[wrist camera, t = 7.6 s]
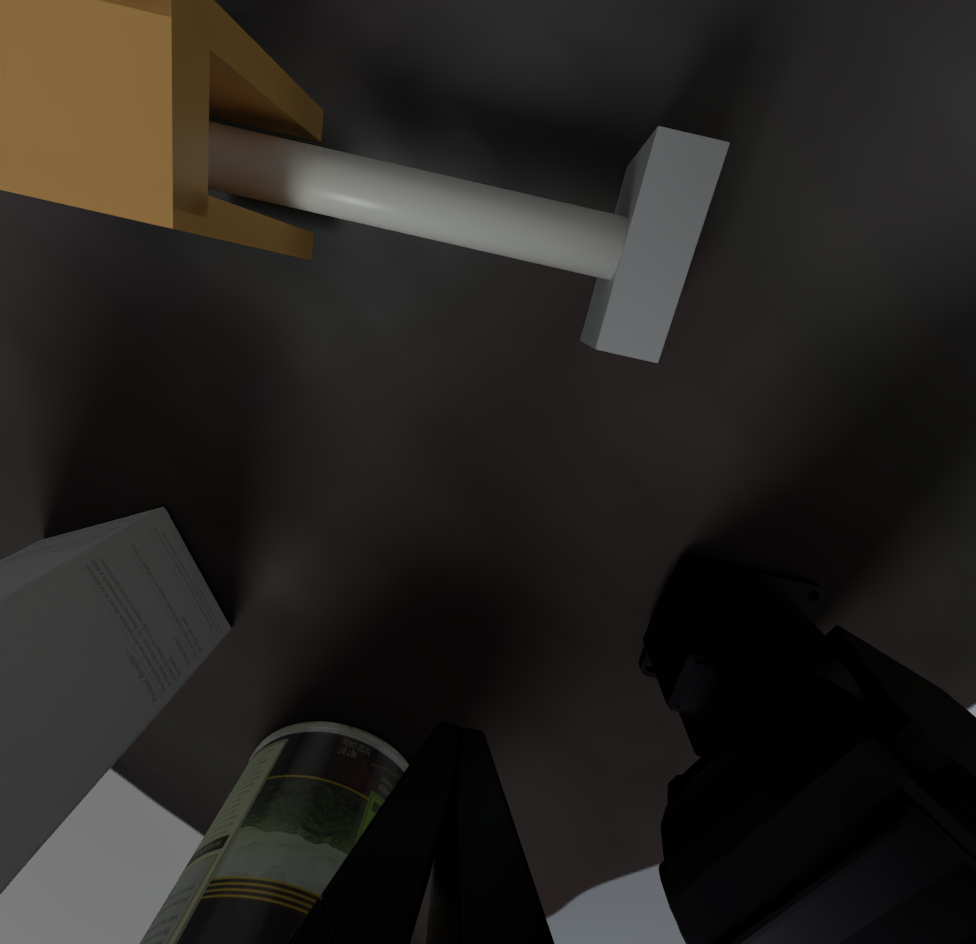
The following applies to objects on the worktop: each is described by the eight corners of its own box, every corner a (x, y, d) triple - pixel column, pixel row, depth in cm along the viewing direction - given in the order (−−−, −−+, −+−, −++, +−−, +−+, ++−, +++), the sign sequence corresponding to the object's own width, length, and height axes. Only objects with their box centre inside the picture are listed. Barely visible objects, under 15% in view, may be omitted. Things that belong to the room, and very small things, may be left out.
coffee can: (379, 700, 25) (223, 1138, 12) (448, 833, 28) (385, 1303, 15) (213, 740, 27) (-86, 1162, 14) (295, 861, 30) (115, 1307, 17)
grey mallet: (682, 179, 17) (766, 114, 11) (629, 352, 19) (678, 371, 13) (62, 36, 16) (-178, -105, 11) (75, 226, 18) (-122, 190, 13)
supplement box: (37, 537, 23) (-470, 778, 11) (169, 502, 22) (-238, 729, 10) (114, 658, 25) (-244, 968, 14) (237, 632, 24) (-33, 944, 12)
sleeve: (323, 110, 16) (171, -44, 9) (311, 260, 17) (173, 228, 10) (204, 82, 16) (-44, -93, 9) (202, 235, 17) (-10, 187, 10)
